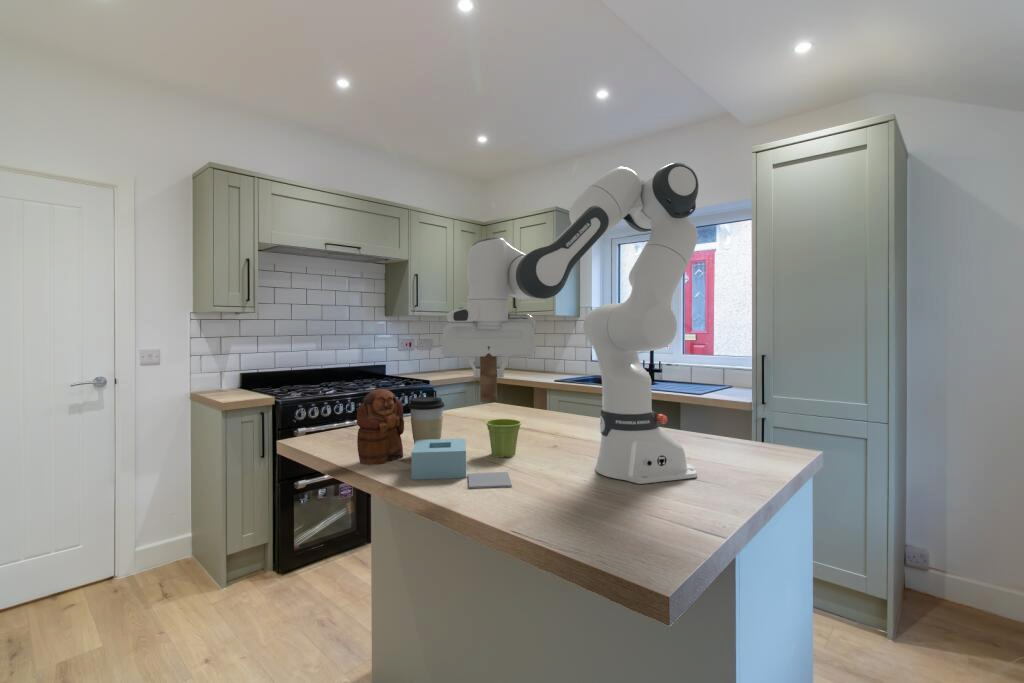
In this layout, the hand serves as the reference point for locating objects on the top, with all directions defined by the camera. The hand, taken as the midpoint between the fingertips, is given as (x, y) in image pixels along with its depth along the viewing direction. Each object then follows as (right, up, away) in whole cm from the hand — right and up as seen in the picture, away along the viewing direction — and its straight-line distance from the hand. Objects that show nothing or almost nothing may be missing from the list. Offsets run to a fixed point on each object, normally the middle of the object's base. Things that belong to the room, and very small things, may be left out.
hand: (488, 377), depth 105 cm
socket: (-12, -23, +9) cm, 27 cm away
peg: (0, -5, 0) cm, 5 cm away
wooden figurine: (-28, -23, +18) cm, 40 cm away
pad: (0, -23, +1) cm, 23 cm away
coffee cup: (-17, -22, +21) cm, 35 cm away
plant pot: (+3, -22, +22) cm, 32 cm away
